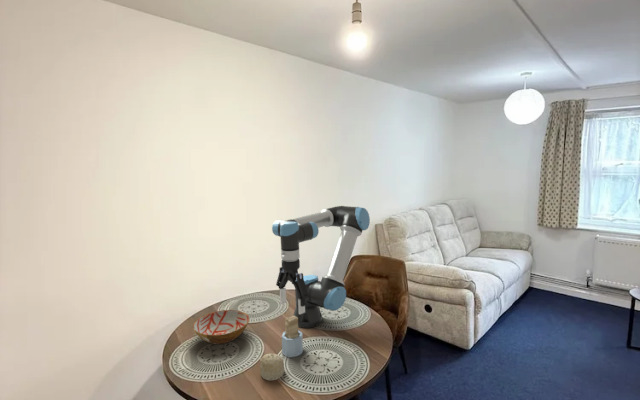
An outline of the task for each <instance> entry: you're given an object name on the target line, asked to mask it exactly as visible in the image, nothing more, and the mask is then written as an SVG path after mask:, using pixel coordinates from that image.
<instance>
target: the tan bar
mask: <svg viewBox="0 0 640 400" xmlns="http://www.w3.org/2000/svg"><path fill="white" fill-rule="evenodd" d="M284 321H285V322H284V323H285V325H284V327H285V331H286V338H291V339H294V338H297V337H298V330H299V326H298V317H296V316H293V315H292V316H288V317H286V318H285V319H284Z"/></svg>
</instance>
